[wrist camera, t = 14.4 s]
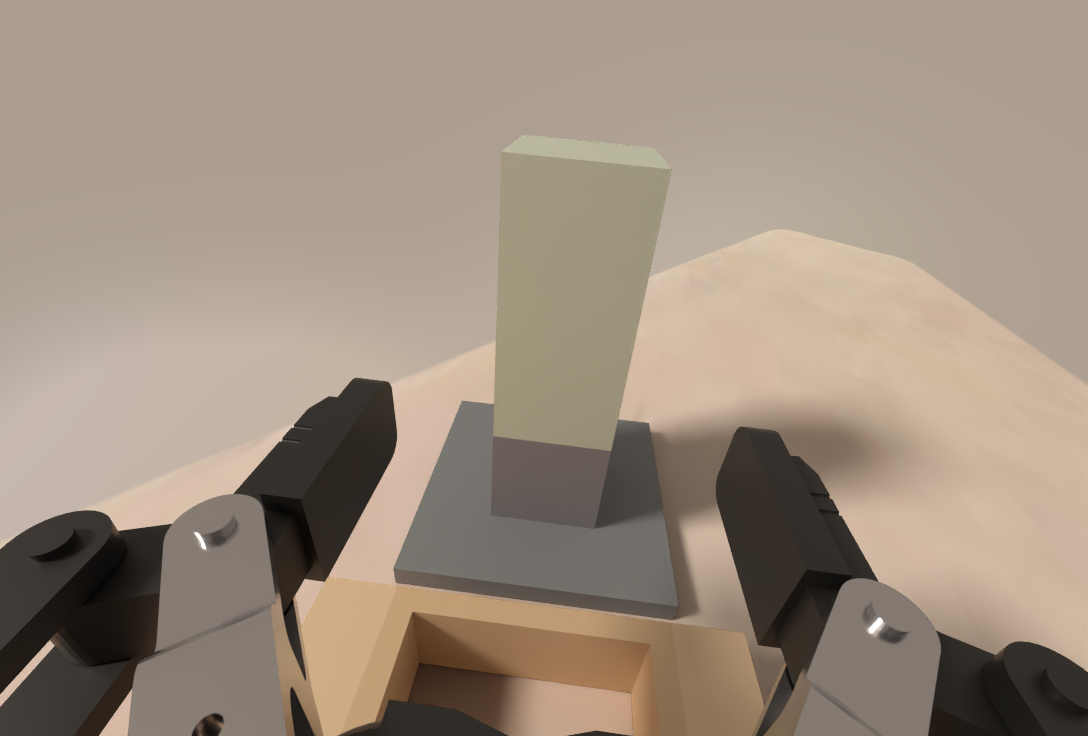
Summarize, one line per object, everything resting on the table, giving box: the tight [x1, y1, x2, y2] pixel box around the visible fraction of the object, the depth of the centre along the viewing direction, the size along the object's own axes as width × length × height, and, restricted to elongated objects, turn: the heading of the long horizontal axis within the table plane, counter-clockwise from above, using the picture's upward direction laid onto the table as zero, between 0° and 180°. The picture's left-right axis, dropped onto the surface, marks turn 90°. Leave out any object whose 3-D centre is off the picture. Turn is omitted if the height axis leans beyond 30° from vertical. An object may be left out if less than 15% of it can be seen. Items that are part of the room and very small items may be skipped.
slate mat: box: [394, 401, 679, 620], centre depth 24 cm, size 12×12×1 cm
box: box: [491, 135, 672, 529], centre depth 20 cm, size 5×5×16 cm
